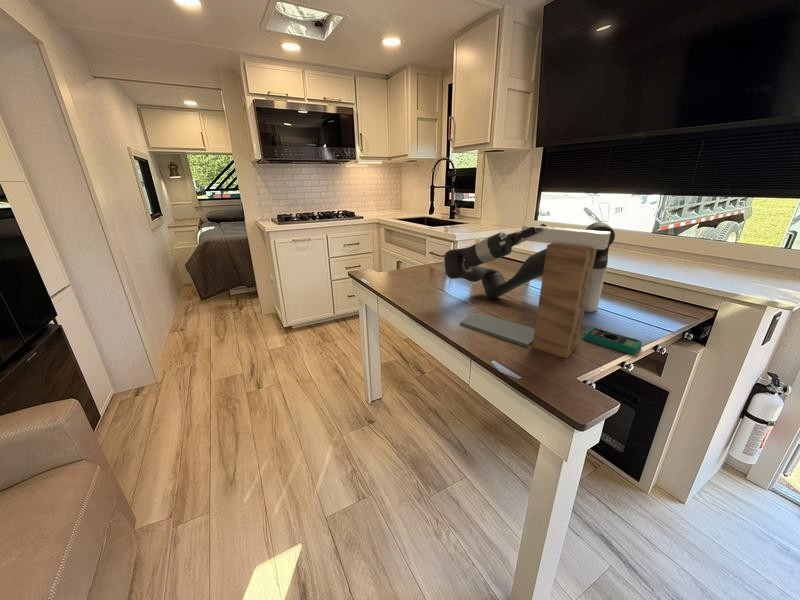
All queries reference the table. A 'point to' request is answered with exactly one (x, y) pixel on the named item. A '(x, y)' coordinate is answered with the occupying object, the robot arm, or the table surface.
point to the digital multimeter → (613, 340)
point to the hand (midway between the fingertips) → (541, 228)
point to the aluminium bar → (569, 237)
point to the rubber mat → (501, 328)
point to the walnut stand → (563, 298)
